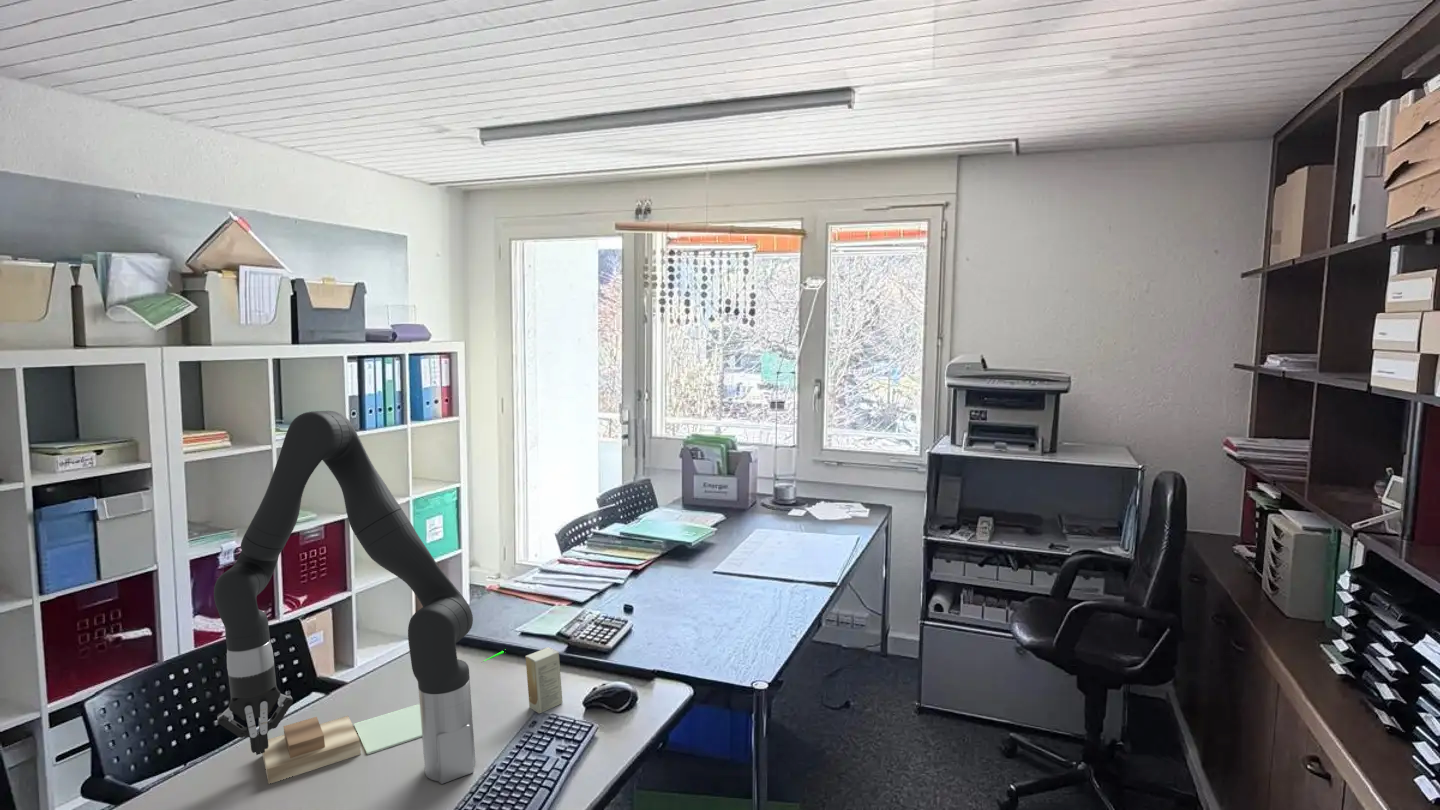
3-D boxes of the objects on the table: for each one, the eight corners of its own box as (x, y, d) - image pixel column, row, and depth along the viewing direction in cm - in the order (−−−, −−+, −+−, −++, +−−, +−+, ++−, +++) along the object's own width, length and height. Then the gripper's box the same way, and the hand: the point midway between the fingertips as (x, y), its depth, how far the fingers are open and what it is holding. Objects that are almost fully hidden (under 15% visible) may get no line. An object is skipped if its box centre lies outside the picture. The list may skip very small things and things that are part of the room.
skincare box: (552, 697, 175) (549, 645, 173) (563, 703, 172) (560, 651, 170) (527, 707, 170) (524, 655, 169) (538, 714, 167) (534, 661, 166)
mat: (467, 721, 165) (467, 720, 165) (367, 754, 153) (367, 752, 153) (448, 696, 176) (448, 694, 176) (353, 725, 165) (353, 723, 165)
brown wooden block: (325, 747, 151) (323, 735, 151) (290, 758, 148) (289, 745, 147) (317, 728, 158) (316, 716, 158) (284, 737, 155) (283, 726, 155)
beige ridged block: (360, 754, 154) (359, 740, 153) (268, 784, 144) (267, 769, 144) (349, 728, 163) (348, 715, 163) (262, 755, 154) (260, 741, 154)
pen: (525, 644, 204) (524, 642, 204) (480, 665, 193) (480, 662, 193) (522, 644, 205) (522, 641, 205) (478, 664, 193) (478, 661, 193)
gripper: (210, 684, 140) (220, 773, 142) (293, 663, 147) (301, 748, 149) (208, 669, 146) (218, 755, 148) (288, 650, 153) (296, 732, 155)
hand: (260, 751), depth 148 cm, fingers closed
